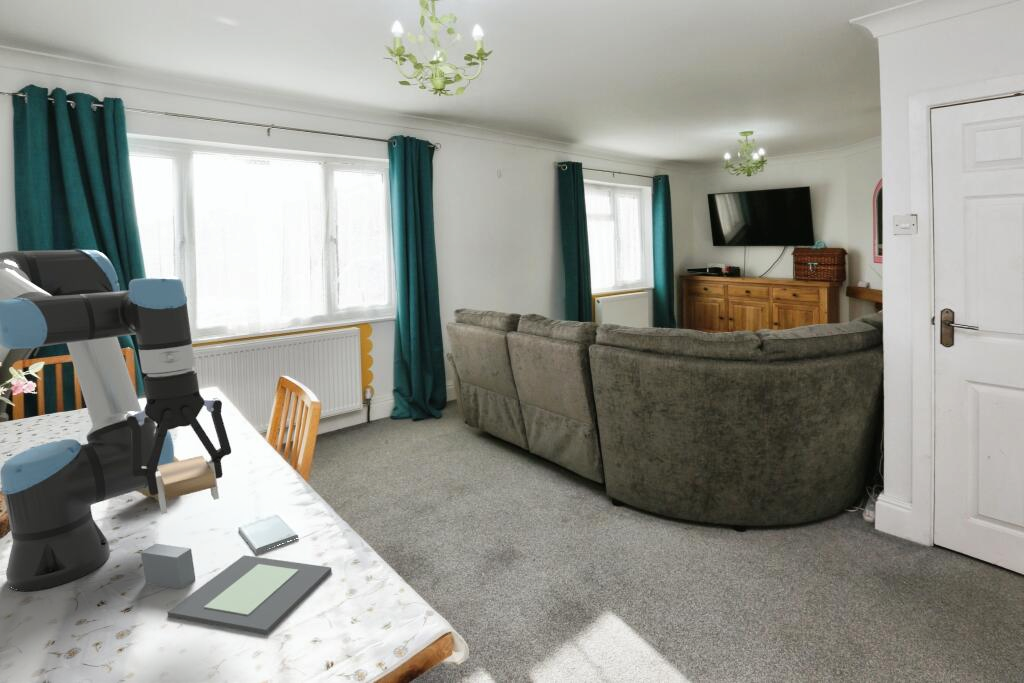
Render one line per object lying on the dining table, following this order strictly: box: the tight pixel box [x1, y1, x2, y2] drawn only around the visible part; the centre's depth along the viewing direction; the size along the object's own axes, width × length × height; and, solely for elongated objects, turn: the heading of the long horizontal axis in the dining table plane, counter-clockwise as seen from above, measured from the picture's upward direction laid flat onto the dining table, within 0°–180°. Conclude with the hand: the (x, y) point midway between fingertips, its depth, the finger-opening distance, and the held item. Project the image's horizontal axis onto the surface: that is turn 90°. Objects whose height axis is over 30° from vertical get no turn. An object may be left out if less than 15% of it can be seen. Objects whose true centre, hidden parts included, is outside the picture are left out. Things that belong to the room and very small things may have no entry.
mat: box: [167, 554, 332, 635], centre depth 95 cm, size 19×17×1 cm
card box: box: [157, 455, 216, 501], centre depth 94 cm, size 11×7×2 cm, turn 38°
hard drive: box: [238, 514, 299, 555], centre depth 115 cm, size 2×8×12 cm
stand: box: [140, 543, 196, 590], centre depth 99 cm, size 8×3×6 cm, turn 74°
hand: (190, 503), depth 95 cm, fingers closed on card box, 7 cm apart
